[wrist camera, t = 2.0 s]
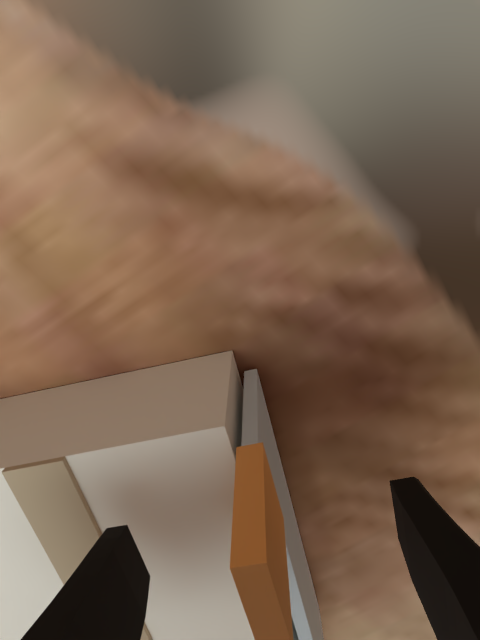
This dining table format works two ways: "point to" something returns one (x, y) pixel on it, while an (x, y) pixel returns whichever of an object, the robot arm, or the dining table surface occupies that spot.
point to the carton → (126, 492)
